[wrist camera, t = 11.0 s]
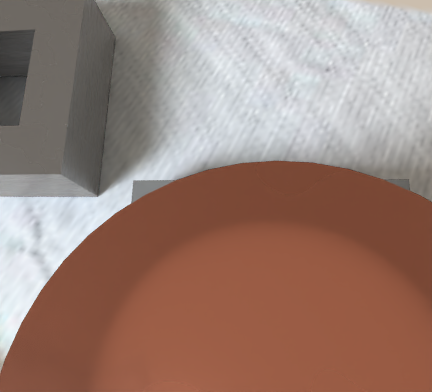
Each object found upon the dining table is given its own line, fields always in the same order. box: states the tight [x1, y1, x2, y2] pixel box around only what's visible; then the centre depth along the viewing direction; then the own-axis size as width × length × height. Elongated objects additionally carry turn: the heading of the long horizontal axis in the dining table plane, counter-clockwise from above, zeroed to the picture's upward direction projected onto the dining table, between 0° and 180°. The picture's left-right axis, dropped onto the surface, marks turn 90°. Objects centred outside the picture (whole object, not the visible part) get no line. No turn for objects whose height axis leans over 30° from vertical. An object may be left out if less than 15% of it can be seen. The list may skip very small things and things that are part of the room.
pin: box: [0, 161, 432, 392], centre depth 10 cm, size 4×4×15 cm
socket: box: [0, 0, 115, 197], centre depth 21 cm, size 10×10×4 cm
